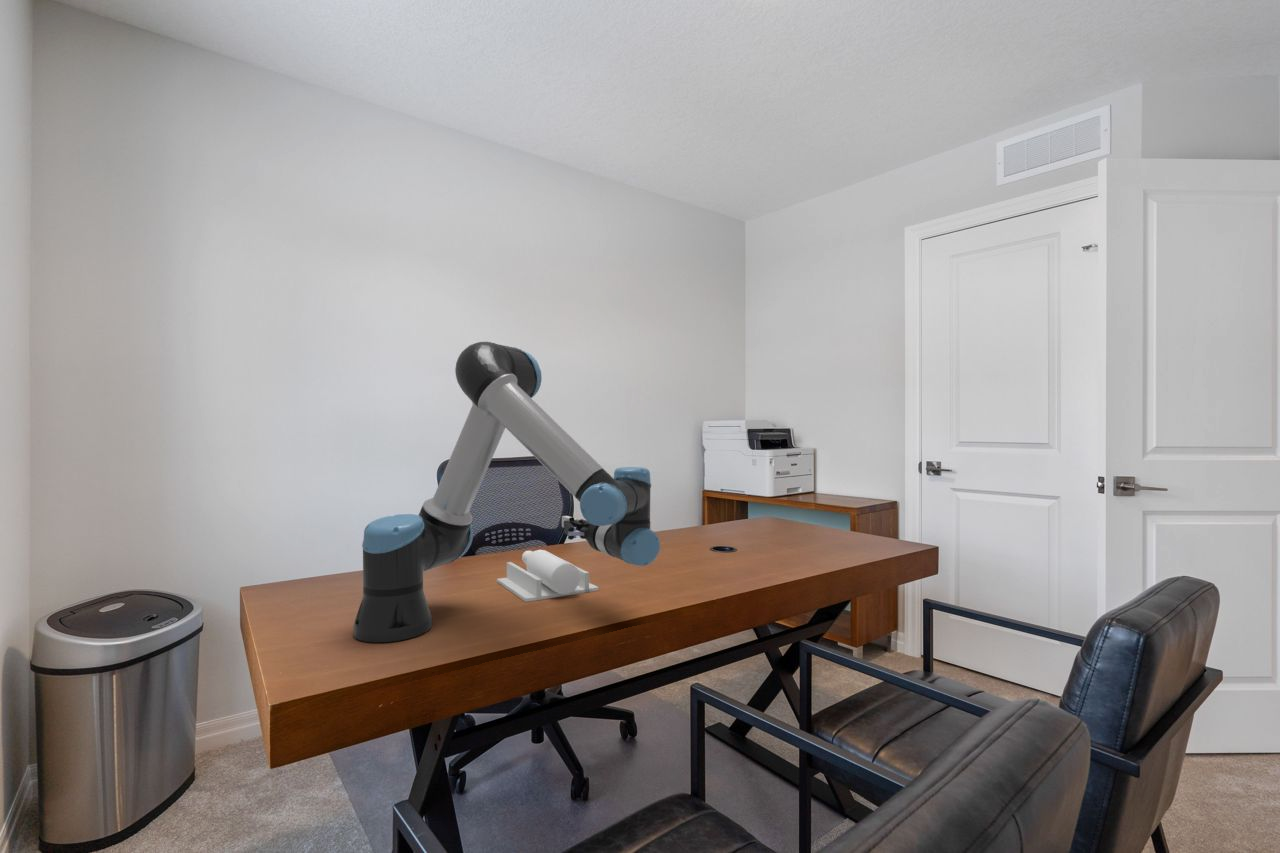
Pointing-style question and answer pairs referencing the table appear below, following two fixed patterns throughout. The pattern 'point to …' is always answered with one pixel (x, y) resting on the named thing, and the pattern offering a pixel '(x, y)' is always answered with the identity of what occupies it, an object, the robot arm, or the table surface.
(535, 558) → the bottle
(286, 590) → the table surface
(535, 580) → the u rest
